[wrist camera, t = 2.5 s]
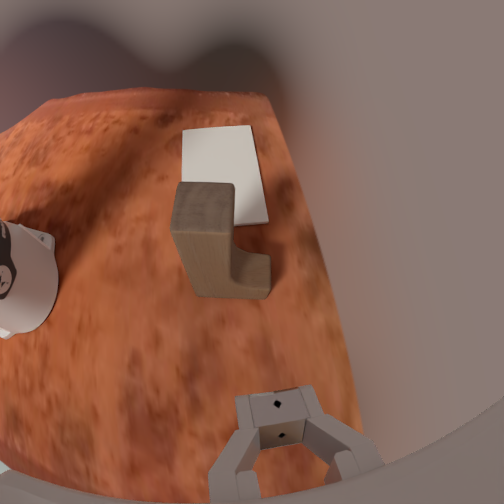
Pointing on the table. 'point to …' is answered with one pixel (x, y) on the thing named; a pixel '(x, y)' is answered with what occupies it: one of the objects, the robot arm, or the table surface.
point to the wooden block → (215, 244)
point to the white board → (227, 167)
